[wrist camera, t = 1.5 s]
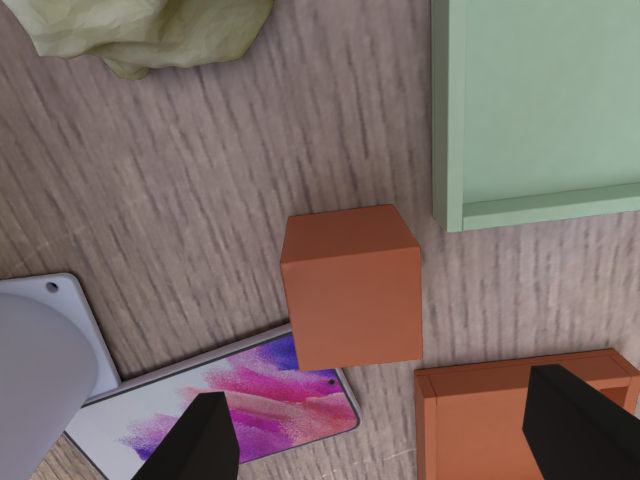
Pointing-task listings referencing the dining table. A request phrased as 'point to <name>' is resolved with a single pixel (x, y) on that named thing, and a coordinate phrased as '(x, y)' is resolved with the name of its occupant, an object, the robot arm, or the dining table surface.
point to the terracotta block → (352, 288)
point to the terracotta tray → (498, 413)
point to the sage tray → (534, 110)
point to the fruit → (143, 30)
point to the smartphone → (242, 398)
